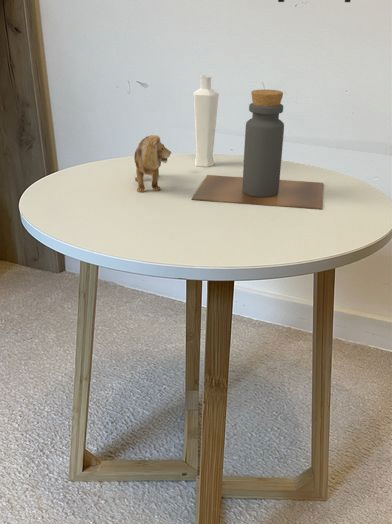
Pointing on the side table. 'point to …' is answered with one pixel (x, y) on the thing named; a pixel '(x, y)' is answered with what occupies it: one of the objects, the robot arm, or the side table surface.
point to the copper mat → (288, 196)
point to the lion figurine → (150, 160)
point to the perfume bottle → (205, 121)
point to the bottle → (263, 144)
